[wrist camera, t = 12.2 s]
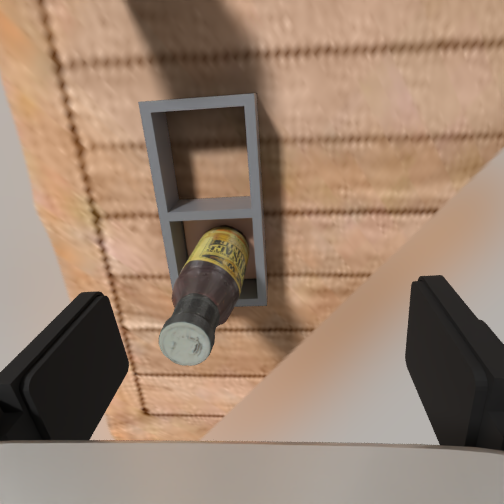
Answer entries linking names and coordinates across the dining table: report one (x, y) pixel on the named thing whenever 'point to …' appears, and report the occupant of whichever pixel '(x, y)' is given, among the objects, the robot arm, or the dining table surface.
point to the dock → (207, 209)
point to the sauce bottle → (205, 295)
